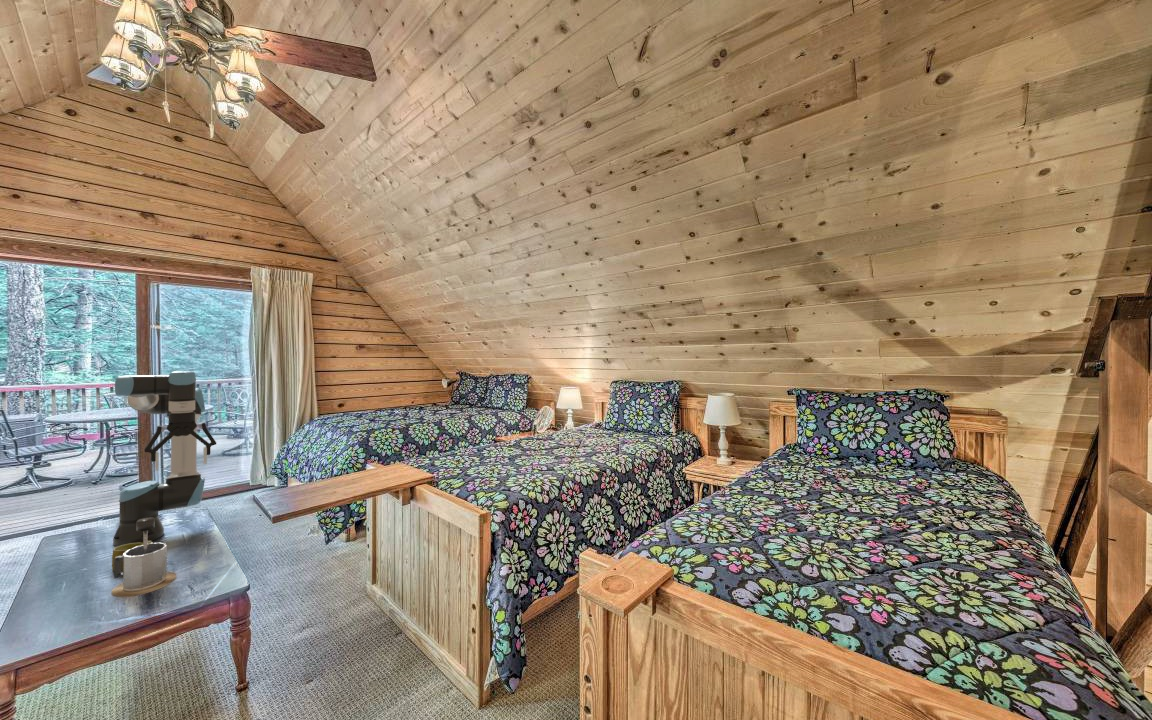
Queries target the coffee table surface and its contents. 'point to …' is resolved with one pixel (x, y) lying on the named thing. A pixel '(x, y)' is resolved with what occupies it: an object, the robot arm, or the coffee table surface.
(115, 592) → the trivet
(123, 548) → the mug
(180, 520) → the coffee table surface
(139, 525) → the plunger
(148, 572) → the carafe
